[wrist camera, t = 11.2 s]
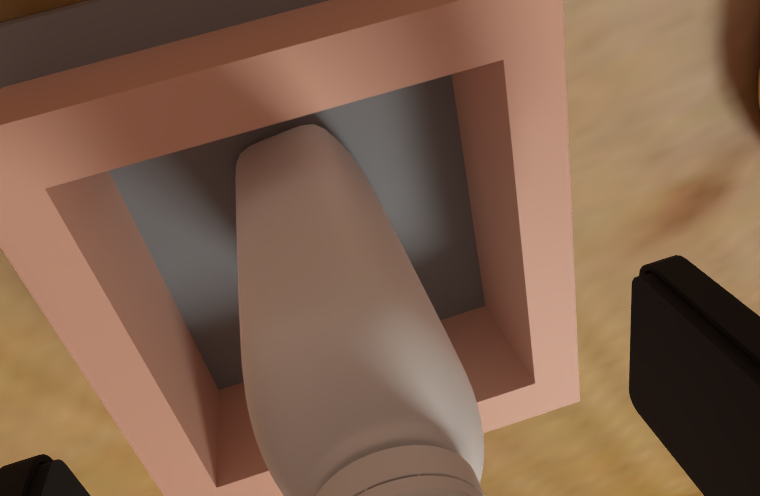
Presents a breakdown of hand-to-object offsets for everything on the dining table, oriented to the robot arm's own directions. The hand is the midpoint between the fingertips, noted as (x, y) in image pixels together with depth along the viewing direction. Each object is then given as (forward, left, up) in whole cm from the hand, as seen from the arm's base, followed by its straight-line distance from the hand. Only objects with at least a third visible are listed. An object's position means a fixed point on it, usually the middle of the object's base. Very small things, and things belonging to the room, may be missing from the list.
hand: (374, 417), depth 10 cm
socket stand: (0, 0, -8) cm, 8 cm away
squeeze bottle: (0, 0, -7) cm, 7 cm away
